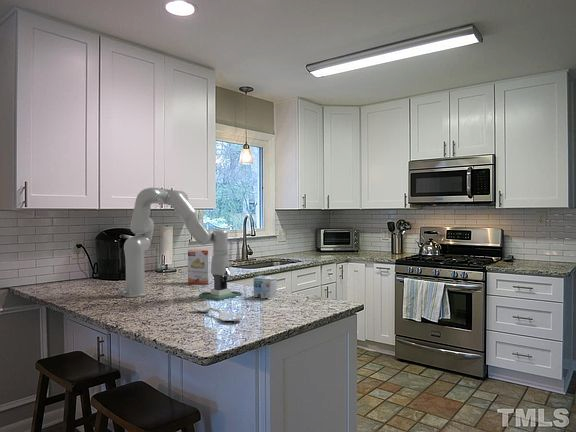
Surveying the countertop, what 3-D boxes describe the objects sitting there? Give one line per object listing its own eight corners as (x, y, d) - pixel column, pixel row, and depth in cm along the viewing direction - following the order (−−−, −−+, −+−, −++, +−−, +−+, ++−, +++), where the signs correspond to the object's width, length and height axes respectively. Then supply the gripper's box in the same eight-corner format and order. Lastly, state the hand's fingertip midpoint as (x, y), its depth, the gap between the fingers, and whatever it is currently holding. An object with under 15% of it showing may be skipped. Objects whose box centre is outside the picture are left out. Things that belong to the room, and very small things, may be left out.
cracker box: (187, 283, 267) (187, 249, 267) (192, 281, 273) (192, 248, 273) (208, 284, 263) (207, 250, 263) (212, 283, 269) (212, 249, 268)
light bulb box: (253, 297, 228) (253, 277, 228) (259, 295, 234) (259, 275, 234) (270, 299, 223) (270, 278, 223) (277, 297, 229) (277, 276, 229)
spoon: (206, 308, 206) (206, 301, 206) (247, 322, 182) (247, 314, 182) (189, 311, 200) (189, 304, 199) (229, 326, 176) (229, 318, 176)
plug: (219, 293, 228) (219, 276, 227) (214, 292, 230) (214, 275, 230) (228, 291, 233) (228, 274, 232) (223, 290, 235) (223, 273, 235)
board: (219, 301, 220) (219, 293, 220) (199, 296, 230) (199, 289, 230) (242, 295, 232) (242, 288, 232) (222, 291, 242) (221, 284, 242)
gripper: (204, 252, 233) (204, 286, 233) (226, 255, 222) (226, 290, 223) (215, 251, 239) (215, 284, 239) (236, 253, 228) (236, 288, 228)
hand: (220, 287), depth 231 cm, fingers open, 4 cm apart
